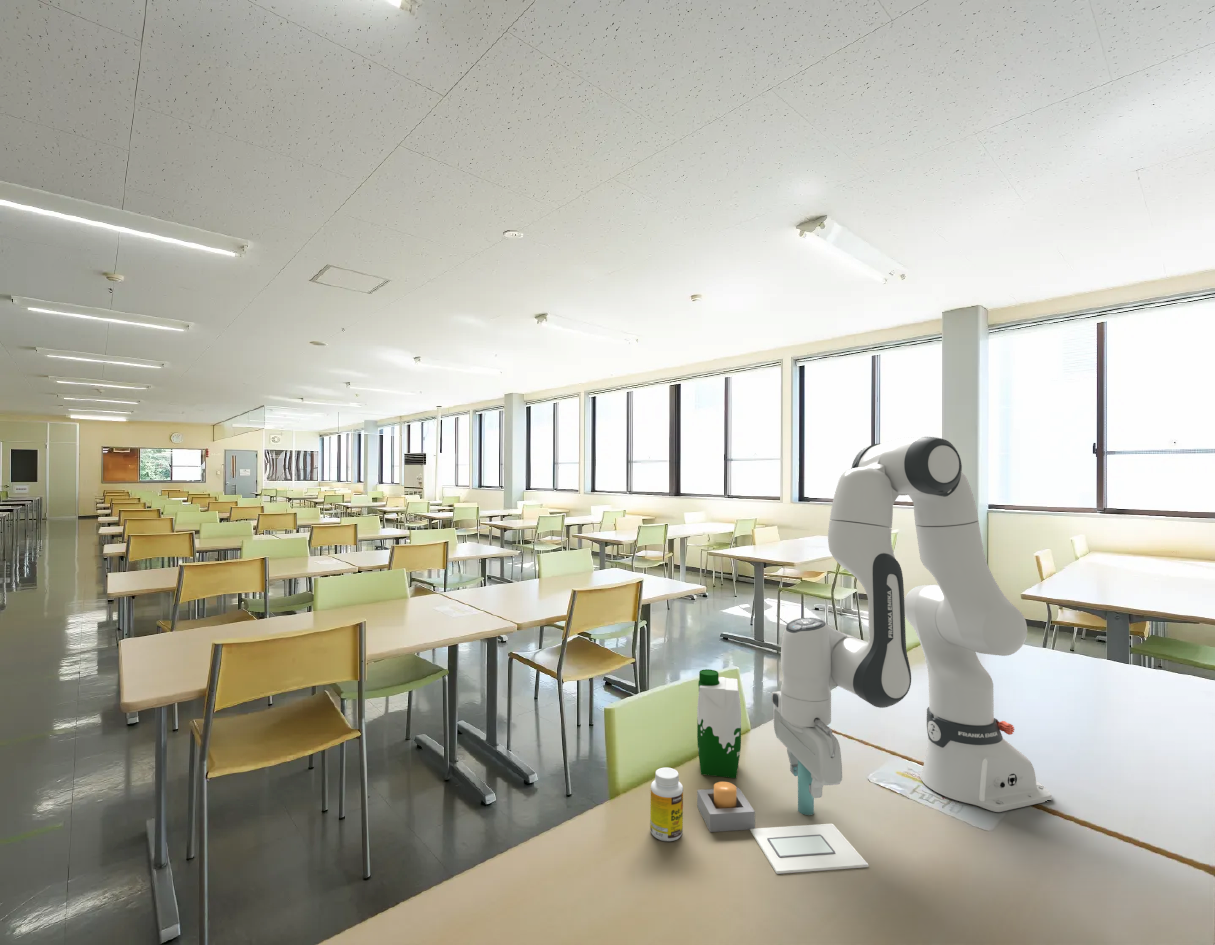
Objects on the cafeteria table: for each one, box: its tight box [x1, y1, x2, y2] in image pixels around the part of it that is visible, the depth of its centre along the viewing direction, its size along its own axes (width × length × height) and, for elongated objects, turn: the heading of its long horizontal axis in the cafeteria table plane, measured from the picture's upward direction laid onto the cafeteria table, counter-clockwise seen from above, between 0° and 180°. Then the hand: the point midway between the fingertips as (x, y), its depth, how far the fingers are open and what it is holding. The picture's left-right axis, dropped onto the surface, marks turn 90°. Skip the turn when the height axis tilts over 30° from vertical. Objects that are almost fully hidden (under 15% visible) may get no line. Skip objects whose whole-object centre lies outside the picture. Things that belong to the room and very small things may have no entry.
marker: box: [797, 760, 815, 816], centre depth 105 cm, size 3×3×10 cm
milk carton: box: [696, 669, 742, 779], centre depth 121 cm, size 9×9×20 cm
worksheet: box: [749, 823, 869, 875], centre depth 94 cm, size 15×11×1 cm
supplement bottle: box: [649, 766, 684, 842], centre depth 98 cm, size 6×6×10 cm
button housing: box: [696, 787, 756, 833], centre depth 103 cm, size 8×8×3 cm
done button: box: [713, 781, 738, 809], centre depth 103 cm, size 4×4×3 cm
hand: (805, 784), depth 105 cm, fingers open, 6 cm apart
